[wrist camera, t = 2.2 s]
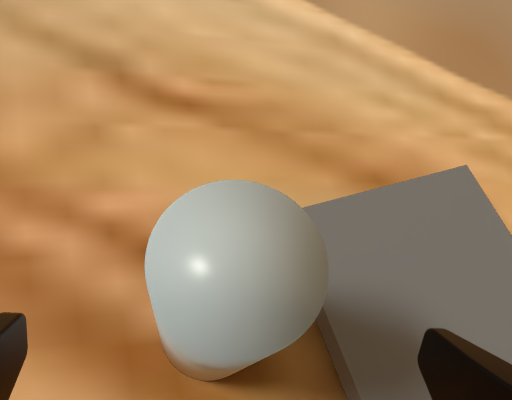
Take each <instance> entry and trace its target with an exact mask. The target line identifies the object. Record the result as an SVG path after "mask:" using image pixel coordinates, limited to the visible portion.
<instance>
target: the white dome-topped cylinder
mask: <svg viewBox="0 0 512 400" xmlns="http://www.w3.org/2000/svg"><path fill="white" fill-rule="evenodd" d="M145 277H146V283H147V289H148V293H149V296H150V300H151V304H152V308H153V312H154V316H155V320H156V324H157V328H158V331H159V335H160V339H161V343H162V346H163V350H164V352H165V354H166V356H167V358H168V359H169V361H170V362H171V363H172V365H173V366H174V367H175V368H176V369H177V370H179V371H180V372H181V373H183V374H184V375H186V376H188V377H191V378H193V379H197V380H203V381H213V380H219V379H222V378H225V377H228V376H230V375H232V374H234V373H236V372H238V371H240V370H242V369H244V368H246V367H248V366H250V365H252V364H254V363H256V362H258V361H260V360H262V359H264V358H266V357H268V356H270V355H272V354H274V353H276V352H278V351H280V350H282V349H284V348H286V347H287V346H289V345H290V344H292V343H294V342H295V341H296V340H297V339H298V338H300V337H301V336H302V335H303V334H304V333H305V332H306V331H307V330H308V329H309V327H310V326H311V325H312V324H313V322H314V321H315V319H316V318H317V316H318V314H319V312H320V310H321V308H322V306H323V304H324V300H325V297H326V294H327V289H328V283H329V264H328V256H327V252H326V248H325V245H324V242H323V239H322V237H321V235H320V233H319V231H318V229H317V227H316V226H315V224H314V223H313V221H312V220H311V218H310V217H309V216H308V214H307V213H306V212H305V211H304V210H303V209H302V208H301V207H300V206H299V205H298V204H297V203H296V202H295V201H293V200H292V199H290V198H289V197H288V196H286V195H285V194H283V193H281V192H279V191H278V190H276V189H273V188H271V187H269V186H266V185H263V184H260V183H257V182H251V181H246V180H222V181H216V182H211V183H208V184H204V185H201V186H199V187H197V188H194V189H192V190H190V191H189V192H187V193H185V194H184V195H182V196H181V197H180V198H178V199H177V200H176V201H174V202H173V203H172V204H171V205H170V206H169V207H168V208H167V209H166V210H165V212H164V213H163V214H162V216H161V217H160V218H159V220H158V221H157V223H156V225H155V227H154V228H153V231H152V233H151V236H150V238H149V241H148V245H147V249H146V256H145Z"/></svg>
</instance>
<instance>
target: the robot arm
mask: <svg viewBox="0 0 512 400" xmlns="http://www.w3.org/2000/svg"><path fill="white" fill-rule="evenodd" d="M27 348H28V344H27V326H26V318H25V315H24V314H22V313H9V312H3V313H0V400H9V397H10V395H11V392H12V390H13V388H14V385H15V383H16V380H17V378H18V375H19V373H20V370H21V368H22V366H23V363H24V361H25V358H26V355H27ZM417 361H418V366H419V369H420V372H421V374H422V377H423V379H424V381H425V384H426V386H427V389H428V391H429V394H430V396H431V399H432V400H512V364H510V363H508V362H506V361H505V360H503V359H501V358H499V357H497V356H495V355H493V354H492V353H490V352H488V351H486V350H484V349H482V348H480V347H478V346H477V345H475V344H473V343H471V342H469V341H467V340H465V339H464V338H462V337H460V336H458V335H456V334H454V333H452V332H451V331H449V330H447V329H444V328H429V329H427V330H426V331H425V333H424V336H423V340H422V343H421V346H420V350H419V353H418V358H417Z"/></svg>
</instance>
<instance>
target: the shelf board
mask: <svg viewBox="0 0 512 400" xmlns="http://www.w3.org/2000/svg"><path fill="white" fill-rule="evenodd" d="M302 209H303V210H304V211H305V212H306V213H307V214H308V216H309V217H310V218H311V220H312V221H313V223H314V224H315V226H316V227H317V229H318V231H319V233H320V235H321V237H322V239H323V242H324V245H325V248H326V252H327V256H328V264H329V283H328V289H327V294H326V297H325V300H324V304H323V306H322V308H321V310H320V312H319V314H318V316H317V318H316V322H317V324H318V327H319V329H320V332H321V334H322V337H323V339H324V342H325V344H326V347H327V349H328V352H329V354H330V357H331V359H332V362H333V364H334V367H335V369H336V372H337V374H338V377H339V379H340V382H341V384H342V387H343V389H344V392H345V394H346V397H347V399H348V400H432V399H431V396H430V394H429V391H428V389H427V386H426V384H425V381H424V379H423V377H422V374H421V372H420V369H419V366H418V361H417V358H418V353H419V350H420V346H421V343H422V340H423V336H424V333H425V331H426V330H427V329H429V328H444V329H447V330H449V331H451V332H452V333H454V334H456V335H458V336H460V337H462V338H464V339H465V340H467V341H469V342H471V343H473V344H475V345H477V346H478V347H480V348H482V349H484V350H486V351H488V352H490V353H492V354H493V355H495V356H497V357H499V358H501V359H503V360H505V361H506V362H508V363H510V364H512V235H511V234H510V232H509V231H508V229H507V228H506V226H505V224H504V223H503V221H502V220H501V218H500V217H499V215H498V213H497V212H496V210H495V209H494V207H493V206H492V204H491V202H490V201H489V199H488V198H487V196H486V195H485V193H484V192H483V190H482V188H481V187H480V185H479V184H478V182H477V181H476V179H475V177H474V176H473V174H472V173H471V171H470V170H469V168H468V166H467V165H464V166H460V167H456V168H453V169H449V170H445V171H441V172H437V173H434V174H430V175H426V176H422V177H418V178H415V179H411V180H407V181H403V182H399V183H396V184H392V185H388V186H384V187H380V188H376V189H373V190H369V191H365V192H361V193H357V194H354V195H350V196H346V197H342V198H338V199H335V200H331V201H327V202H323V203H319V204H315V205H312V206H308V207H304V208H302Z"/></svg>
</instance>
